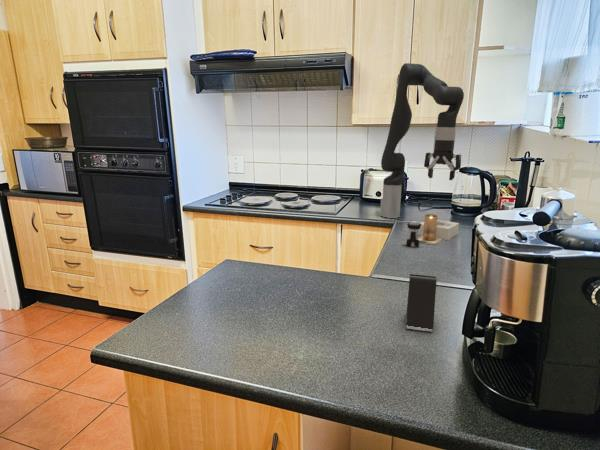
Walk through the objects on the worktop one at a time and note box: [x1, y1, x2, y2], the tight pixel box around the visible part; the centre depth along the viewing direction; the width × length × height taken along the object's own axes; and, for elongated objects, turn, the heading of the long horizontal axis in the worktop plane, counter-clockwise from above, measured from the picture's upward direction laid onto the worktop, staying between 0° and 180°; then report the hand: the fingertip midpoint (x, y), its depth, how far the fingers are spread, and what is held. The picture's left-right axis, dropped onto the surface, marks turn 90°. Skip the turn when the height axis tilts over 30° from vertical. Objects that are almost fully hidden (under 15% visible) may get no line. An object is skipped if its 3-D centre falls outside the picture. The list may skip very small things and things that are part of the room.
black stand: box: [401, 220, 421, 248], centre depth 153 cm, size 7×5×10 cm
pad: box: [418, 236, 443, 246], centre depth 161 cm, size 8×8×1 cm
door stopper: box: [405, 273, 437, 330], centre depth 92 cm, size 9×6×12 cm, turn 164°
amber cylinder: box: [423, 213, 439, 241], centre depth 160 cm, size 5×5×10 cm
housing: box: [418, 219, 460, 241], centre depth 171 cm, size 13×13×5 cm
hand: (440, 178), depth 161 cm, fingers open, 8 cm apart
